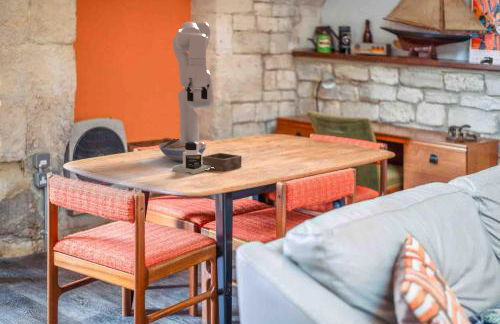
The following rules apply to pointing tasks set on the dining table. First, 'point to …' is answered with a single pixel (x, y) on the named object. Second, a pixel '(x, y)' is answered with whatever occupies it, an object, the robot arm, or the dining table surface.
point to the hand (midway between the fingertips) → (197, 100)
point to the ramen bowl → (177, 149)
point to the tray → (192, 171)
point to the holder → (222, 161)
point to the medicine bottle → (192, 156)
